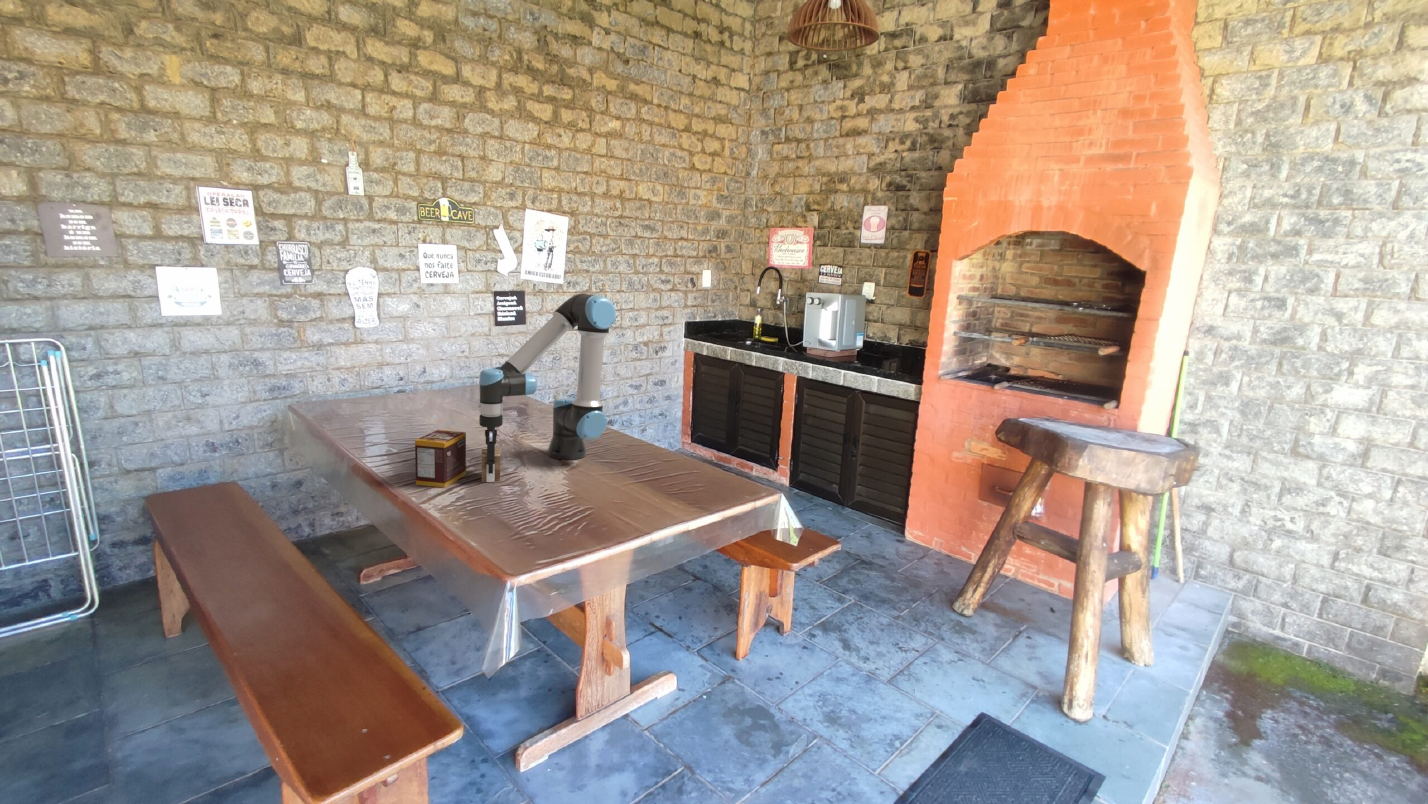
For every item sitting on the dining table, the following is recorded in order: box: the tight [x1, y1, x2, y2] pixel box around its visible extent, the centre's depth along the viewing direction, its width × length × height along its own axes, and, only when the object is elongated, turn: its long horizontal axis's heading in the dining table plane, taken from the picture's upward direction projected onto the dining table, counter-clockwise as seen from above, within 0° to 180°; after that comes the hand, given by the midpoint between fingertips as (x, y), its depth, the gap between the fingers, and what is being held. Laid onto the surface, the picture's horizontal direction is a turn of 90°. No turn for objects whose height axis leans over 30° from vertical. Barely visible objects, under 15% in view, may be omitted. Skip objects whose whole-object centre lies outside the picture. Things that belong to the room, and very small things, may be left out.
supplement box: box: [414, 429, 467, 489], centre depth 224 cm, size 10×15×16 cm
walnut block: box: [481, 448, 501, 483], centre depth 228 cm, size 6×6×10 cm
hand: (490, 477), depth 229 cm, fingers open, 7 cm apart
